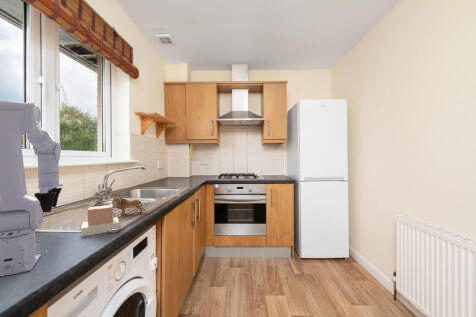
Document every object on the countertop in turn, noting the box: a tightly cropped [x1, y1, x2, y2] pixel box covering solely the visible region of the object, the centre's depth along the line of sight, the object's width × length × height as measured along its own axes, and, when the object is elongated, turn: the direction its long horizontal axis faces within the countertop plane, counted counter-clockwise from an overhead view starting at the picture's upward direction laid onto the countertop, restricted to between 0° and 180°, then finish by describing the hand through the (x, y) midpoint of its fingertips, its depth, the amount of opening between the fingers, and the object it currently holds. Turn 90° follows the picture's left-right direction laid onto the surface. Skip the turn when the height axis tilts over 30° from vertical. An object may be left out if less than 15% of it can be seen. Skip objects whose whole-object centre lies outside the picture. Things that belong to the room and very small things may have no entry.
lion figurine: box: [112, 196, 146, 216], centre depth 106 cm, size 15×5×9 cm, turn 122°
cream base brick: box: [80, 216, 120, 237], centre depth 83 cm, size 8×12×4 cm, turn 123°
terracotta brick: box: [87, 204, 114, 226], centre depth 83 cm, size 4×8×6 cm, turn 118°
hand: (49, 209), depth 79 cm, fingers open, 7 cm apart
